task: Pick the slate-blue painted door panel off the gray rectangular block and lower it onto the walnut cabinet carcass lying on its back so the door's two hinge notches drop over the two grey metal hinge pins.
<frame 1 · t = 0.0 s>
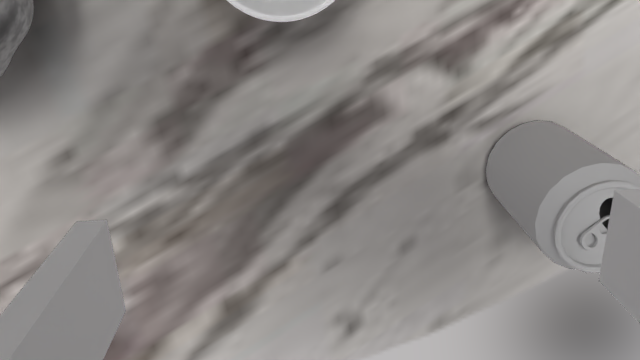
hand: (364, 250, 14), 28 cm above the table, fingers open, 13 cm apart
can: (527, 161, 44), on the table
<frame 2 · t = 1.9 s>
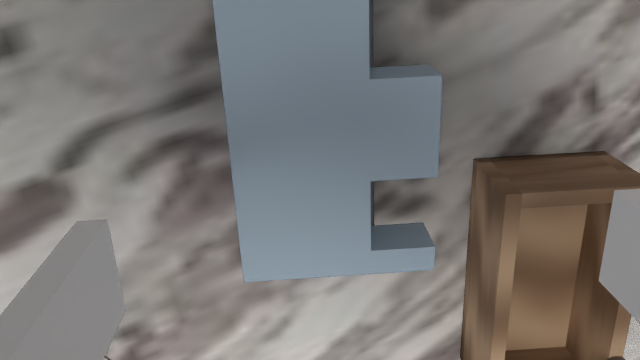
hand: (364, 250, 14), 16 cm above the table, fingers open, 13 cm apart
door: (330, 118, 26), point 4 cm above the table, touching gray rectangular block
carcass: (526, 262, 34), on the table
gray rectangular block: (325, 97, 29), on the table
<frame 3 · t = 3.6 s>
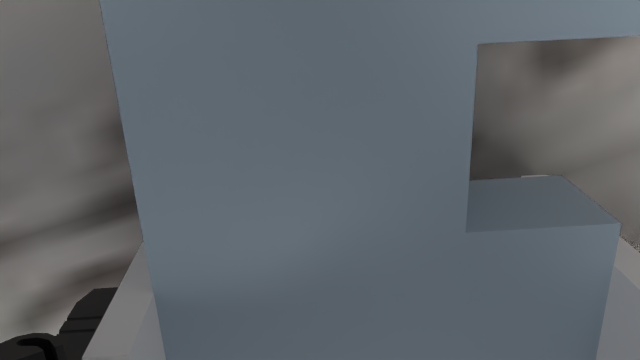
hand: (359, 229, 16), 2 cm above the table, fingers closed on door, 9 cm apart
door: (369, 270, 13), point 4 cm above the table, touching gripper, gray rectangular block
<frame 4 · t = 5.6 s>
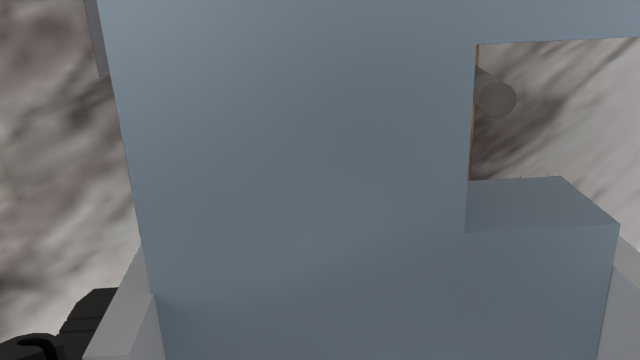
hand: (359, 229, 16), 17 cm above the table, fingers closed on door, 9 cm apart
door: (368, 271, 13), point 19 cm above the table, touching gripper
carcass: (381, 131, 32), on the table
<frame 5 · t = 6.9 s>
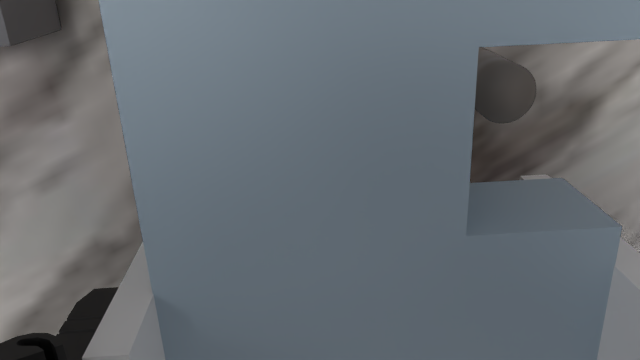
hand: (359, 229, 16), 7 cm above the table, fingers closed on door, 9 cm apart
door: (370, 273, 13), point 10 cm above the table, touching gripper
carcass: (336, 143, 22), on the table
when the fingers open (6 cm above the table, at t = 7.7 s): door drops 3 cm, resting on carcass.
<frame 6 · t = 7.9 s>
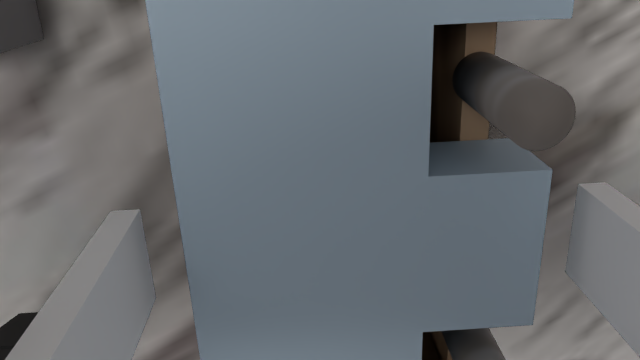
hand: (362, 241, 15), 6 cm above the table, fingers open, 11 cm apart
door: (355, 219, 16), point 5 cm above the table, touching carcass
carcass: (341, 160, 21), on the table
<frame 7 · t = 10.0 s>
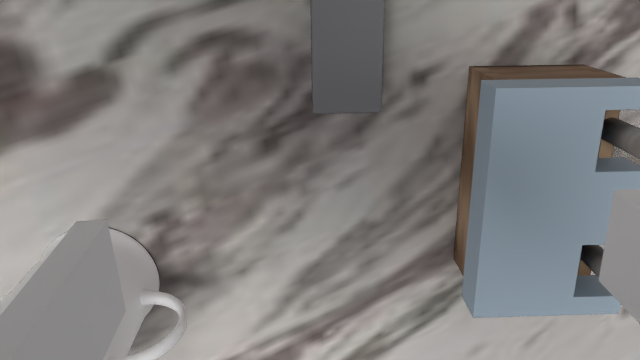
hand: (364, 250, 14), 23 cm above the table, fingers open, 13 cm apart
door: (544, 193, 33), point 5 cm above the table, touching carcass
carcass: (514, 167, 38), on the table
mug: (124, 277, 40), on the table
gray rectangular block: (342, 3, 34), on the table
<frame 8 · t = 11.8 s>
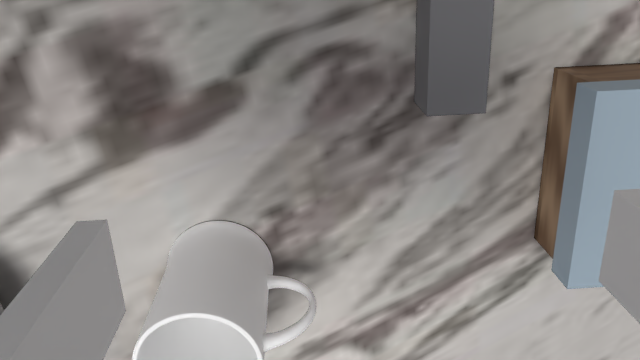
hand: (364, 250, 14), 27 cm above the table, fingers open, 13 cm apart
door: (627, 179, 38), point 5 cm above the table, touching carcass
carcass: (591, 155, 43), on the table
mug: (241, 264, 45), on the table
gray rectangular block: (444, 16, 38), on the table
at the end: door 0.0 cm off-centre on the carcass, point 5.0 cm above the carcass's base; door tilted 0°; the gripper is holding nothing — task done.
